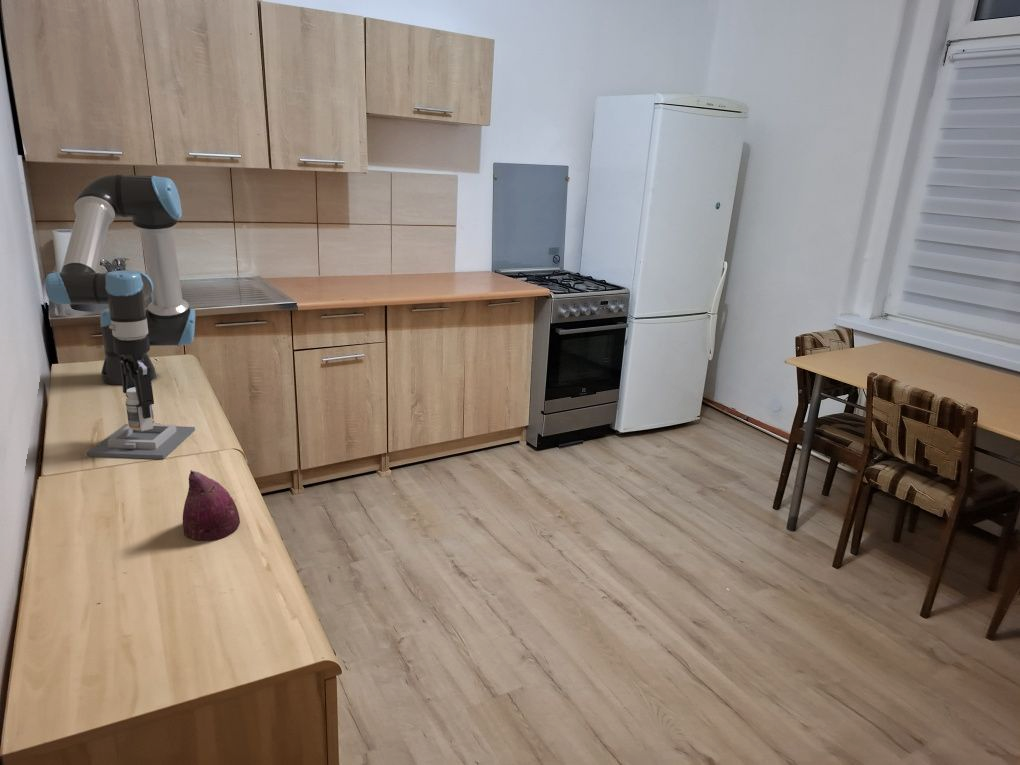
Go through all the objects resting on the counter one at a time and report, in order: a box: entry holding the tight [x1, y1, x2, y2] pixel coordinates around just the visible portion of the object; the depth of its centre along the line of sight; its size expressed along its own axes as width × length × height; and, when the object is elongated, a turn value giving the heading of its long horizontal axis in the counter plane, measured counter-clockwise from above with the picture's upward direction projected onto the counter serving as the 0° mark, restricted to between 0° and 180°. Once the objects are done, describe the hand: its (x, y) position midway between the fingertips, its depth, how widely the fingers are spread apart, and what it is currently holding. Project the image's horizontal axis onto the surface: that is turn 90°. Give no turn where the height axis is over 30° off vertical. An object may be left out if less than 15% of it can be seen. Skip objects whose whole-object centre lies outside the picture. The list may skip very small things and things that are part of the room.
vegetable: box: [182, 469, 241, 542], centre depth 129 cm, size 10×10×15 cm
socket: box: [86, 422, 196, 460], centre depth 167 cm, size 18×18×3 cm
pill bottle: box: [124, 387, 155, 430], centre depth 165 cm, size 6×6×10 cm
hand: (141, 425), depth 166 cm, fingers closed on pill bottle, 6 cm apart
